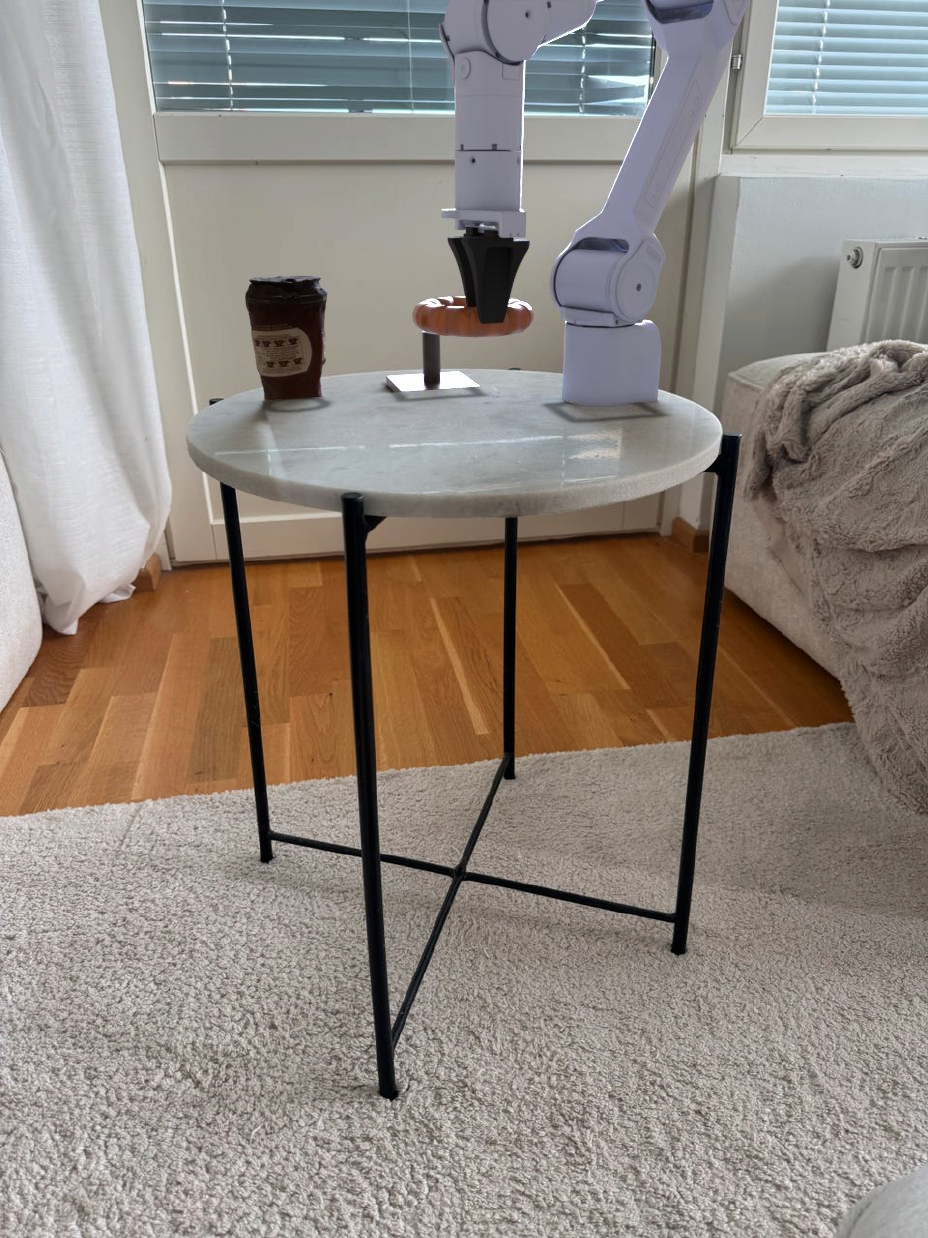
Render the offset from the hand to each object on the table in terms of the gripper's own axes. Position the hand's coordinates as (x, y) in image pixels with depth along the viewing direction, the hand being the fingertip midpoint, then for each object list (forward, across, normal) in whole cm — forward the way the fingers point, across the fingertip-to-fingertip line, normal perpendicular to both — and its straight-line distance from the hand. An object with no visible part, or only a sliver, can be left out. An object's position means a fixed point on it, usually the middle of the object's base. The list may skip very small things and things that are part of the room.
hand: (486, 320), depth 83 cm
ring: (0, -4, 0) cm, 4 cm away
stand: (+10, -21, 0) cm, 23 cm away
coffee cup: (+11, -18, -16) cm, 26 cm away
